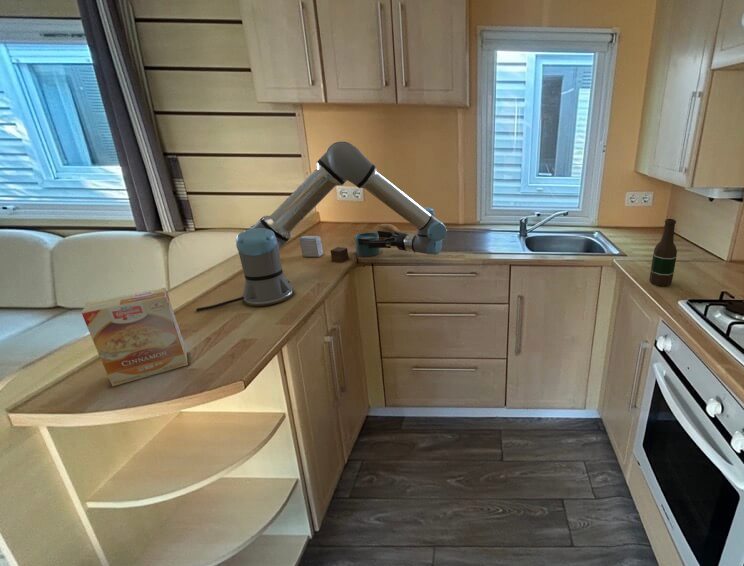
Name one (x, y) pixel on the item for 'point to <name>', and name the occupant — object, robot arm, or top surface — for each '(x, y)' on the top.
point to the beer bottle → (664, 257)
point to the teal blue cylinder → (363, 249)
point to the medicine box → (311, 246)
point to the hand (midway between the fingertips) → (368, 237)
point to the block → (339, 254)
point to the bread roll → (385, 229)
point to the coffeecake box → (135, 335)
